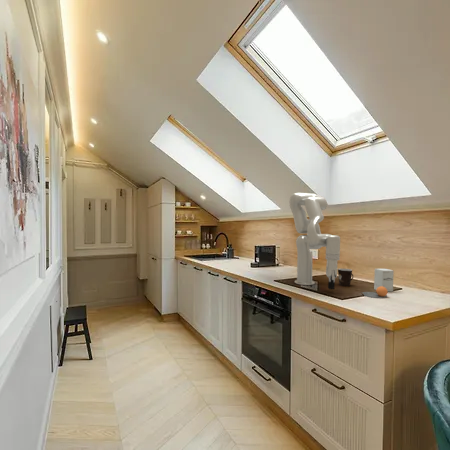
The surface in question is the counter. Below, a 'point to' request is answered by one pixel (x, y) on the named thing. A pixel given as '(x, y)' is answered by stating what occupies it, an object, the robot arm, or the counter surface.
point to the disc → (373, 295)
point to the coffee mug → (345, 277)
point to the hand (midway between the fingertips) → (331, 288)
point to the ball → (381, 291)
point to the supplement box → (384, 279)
